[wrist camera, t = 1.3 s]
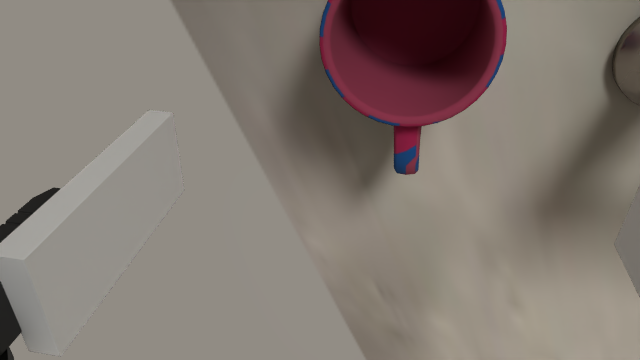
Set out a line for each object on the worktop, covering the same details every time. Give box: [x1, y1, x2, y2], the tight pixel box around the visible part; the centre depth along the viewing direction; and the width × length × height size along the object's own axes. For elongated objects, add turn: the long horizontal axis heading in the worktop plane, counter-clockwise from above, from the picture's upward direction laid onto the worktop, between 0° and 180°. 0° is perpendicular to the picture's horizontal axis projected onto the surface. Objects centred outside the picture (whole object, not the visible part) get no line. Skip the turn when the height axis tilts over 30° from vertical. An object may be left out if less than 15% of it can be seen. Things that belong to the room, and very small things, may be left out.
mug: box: [319, 0, 507, 175], centre depth 22 cm, size 7×10×7 cm
